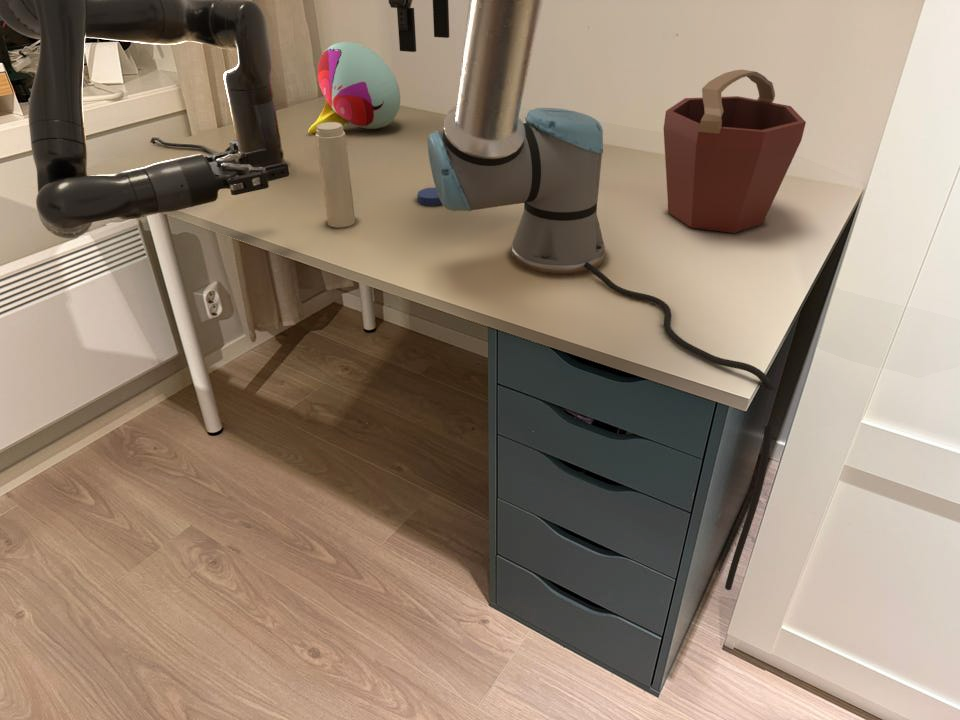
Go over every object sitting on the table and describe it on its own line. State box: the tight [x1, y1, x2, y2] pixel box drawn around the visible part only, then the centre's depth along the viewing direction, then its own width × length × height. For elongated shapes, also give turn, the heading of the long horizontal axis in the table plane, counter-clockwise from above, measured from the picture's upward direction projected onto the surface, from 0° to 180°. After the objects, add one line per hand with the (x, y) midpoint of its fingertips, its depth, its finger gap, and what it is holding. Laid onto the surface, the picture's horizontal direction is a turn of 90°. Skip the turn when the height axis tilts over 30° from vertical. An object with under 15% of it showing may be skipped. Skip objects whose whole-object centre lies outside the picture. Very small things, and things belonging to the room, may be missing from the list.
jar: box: [315, 122, 356, 229], centre depth 125 cm, size 5×5×18 cm
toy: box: [307, 41, 401, 134], centre depth 176 cm, size 24×24×20 cm
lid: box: [416, 187, 443, 207], centre depth 138 cm, size 6×6×2 cm
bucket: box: [663, 69, 807, 234], centre depth 125 cm, size 24×22×25 cm
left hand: (277, 161), depth 118 cm, fingers open, 8 cm apart
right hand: (425, 44), depth 123 cm, fingers open, 13 cm apart
